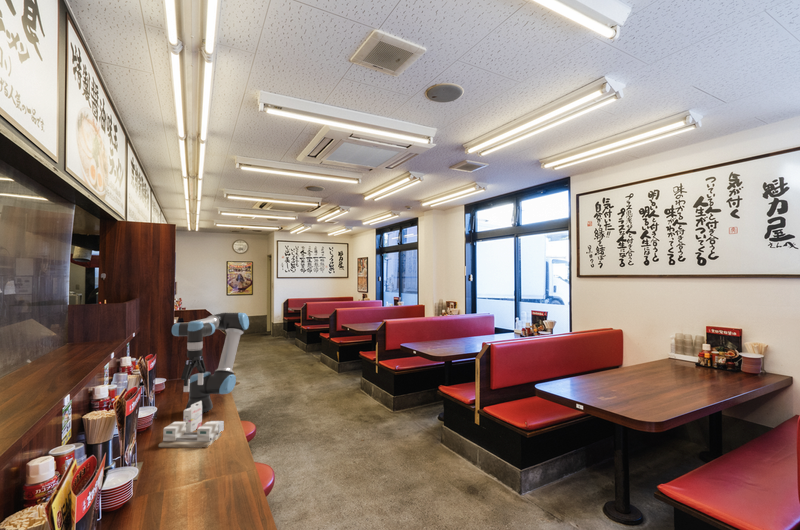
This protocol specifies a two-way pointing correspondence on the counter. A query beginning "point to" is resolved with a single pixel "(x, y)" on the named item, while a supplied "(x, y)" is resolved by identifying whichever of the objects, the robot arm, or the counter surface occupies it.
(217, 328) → the robot arm
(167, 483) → the counter surface
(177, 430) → the mounting board
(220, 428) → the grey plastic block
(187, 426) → the ink cartridge box
